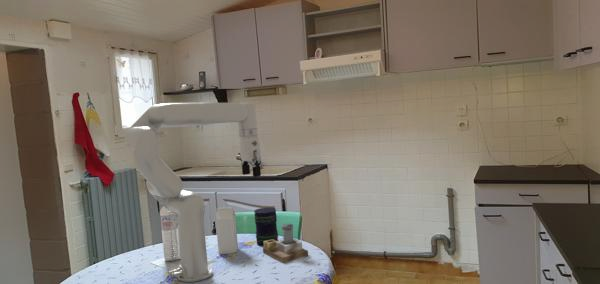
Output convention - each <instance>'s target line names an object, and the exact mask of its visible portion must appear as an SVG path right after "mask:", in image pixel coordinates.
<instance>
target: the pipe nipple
mask: <svg viewBox="0 0 600 284" xmlns="http://www.w3.org/2000/svg"><path fill="white" fill-rule="evenodd" d="M281 229H282V236H283V240H284V244H285V245H288V244H292V243H294V241H293V239H294V232H293V231H294V230H293V229H294V224H292V223H284V224H282V225H281Z"/></svg>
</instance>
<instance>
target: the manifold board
mask: <svg viewBox="0 0 600 284" xmlns="http://www.w3.org/2000/svg"><path fill="white" fill-rule="evenodd" d="M293 241H294V243H292V244H288V245H285V244H284V239H282V240H278V241H276V240H274V239H271V240H267V241H263V243H264V246H263V248H262V253H263V254H264V255H267V256H269V257H271V258H272V259H274V260H276V261H277V262H280V263H281V264H283V263H287V262H290V261H293V260H297V259H301V258H305V257H307V256H309V251H308V249H305V248H303V241H301V240H299V239H295V238H293Z"/></svg>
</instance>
